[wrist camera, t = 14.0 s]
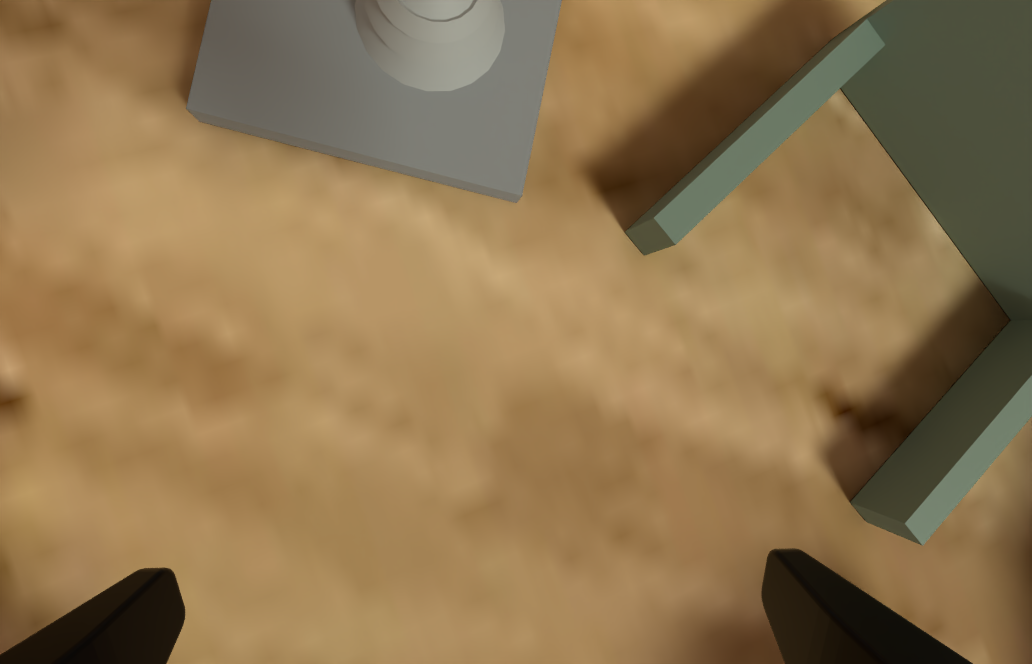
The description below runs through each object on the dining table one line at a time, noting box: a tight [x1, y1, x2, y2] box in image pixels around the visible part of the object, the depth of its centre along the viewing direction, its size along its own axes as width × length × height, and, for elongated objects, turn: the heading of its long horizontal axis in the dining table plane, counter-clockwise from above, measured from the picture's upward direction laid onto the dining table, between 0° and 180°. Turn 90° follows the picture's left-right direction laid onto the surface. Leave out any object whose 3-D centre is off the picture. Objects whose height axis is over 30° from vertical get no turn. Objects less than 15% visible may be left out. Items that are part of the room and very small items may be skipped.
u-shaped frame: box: [625, 0, 1032, 545], centre depth 18 cm, size 13×16×7 cm
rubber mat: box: [186, 0, 562, 203], centre depth 18 cm, size 11×11×1 cm
